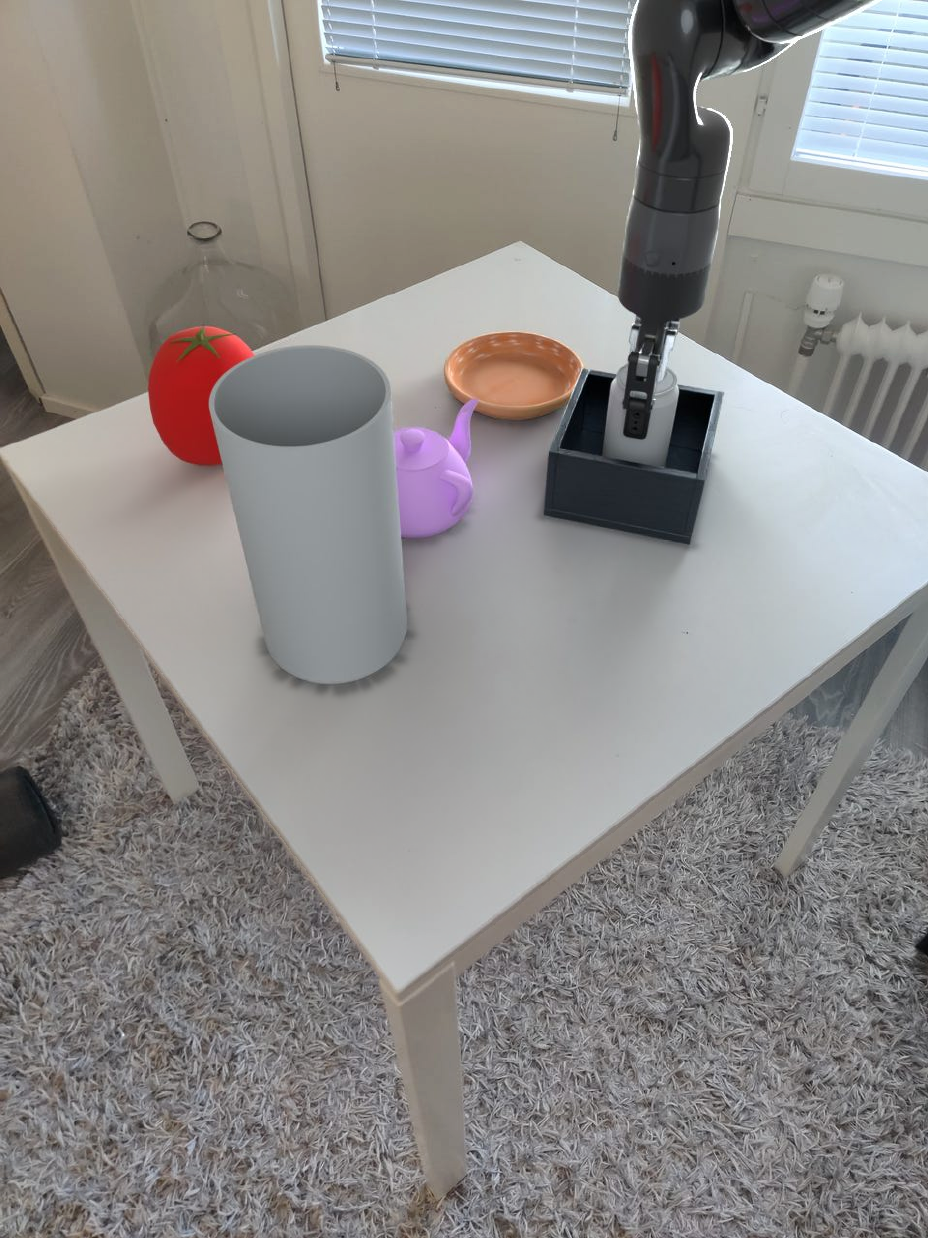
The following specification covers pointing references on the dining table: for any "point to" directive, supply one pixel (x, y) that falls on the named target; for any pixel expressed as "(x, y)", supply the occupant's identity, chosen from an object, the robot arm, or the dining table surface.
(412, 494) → the teapot
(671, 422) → the beverage can
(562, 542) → the dining table surface
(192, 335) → the tomato
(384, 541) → the cylinder vase
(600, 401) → the dark gray open box
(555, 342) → the saucer
